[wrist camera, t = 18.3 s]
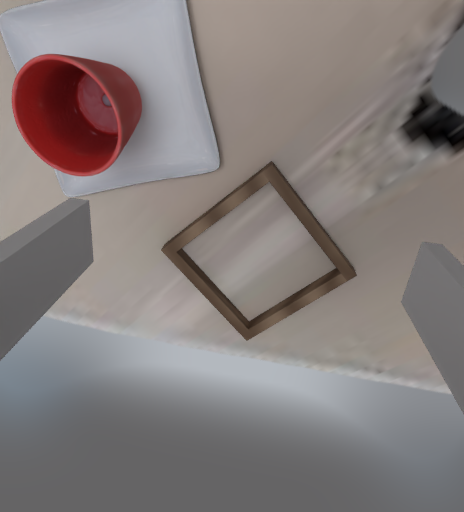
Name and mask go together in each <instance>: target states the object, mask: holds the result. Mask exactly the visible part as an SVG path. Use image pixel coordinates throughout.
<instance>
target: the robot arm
mask: <svg viewBox="0 0 464 512" xmlns="http://www.w3.org/2000/svg"><path fill="white" fill-rule="evenodd" d="M92 263H93V248H92V234H91V221H90V207H89V200H83V199H75V198H69V199H68V200H66V201H65V202H63V203H61V204H60V205H58V206H57V207H55V208H54V209H52V210H50V211H49V212H47V213H46V214H44V215H42V216H41V217H39V218H38V219H36V220H34V221H33V222H31V223H30V224H28V225H26V226H25V227H23V228H22V229H20V230H19V231H17V232H15V233H14V234H12V235H11V236H9V237H7V238H6V239H4V240H3V241H1V242H0V361H1V359H2V358H3V357H4V356H5V355H6V354H7V353H8V352H9V351H10V350H11V349H12V348H13V347H14V346H15V344H17V342H18V341H19V340H20V339H21V338H22V337H23V336H24V335H25V334H26V333H27V332H28V331H29V329H31V327H32V326H33V325H34V324H35V323H36V322H37V321H38V320H39V319H40V318H41V317H42V316H43V315H44V314H45V313H46V312H47V310H48V309H49V308H50V307H51V306H52V305H53V304H54V303H55V302H56V301H57V300H58V299H59V298H60V297H61V296H62V294H63V293H64V292H65V291H66V290H67V289H68V288H69V287H70V286H71V285H72V284H73V283H74V282H75V281H76V280H77V279H78V277H79V276H80V275H81V274H82V273H83V272H84V271H85V270H86V269H87V268H88V267H89V266H90V265H91V264H92ZM401 303H402V304H403V306H404V308H405V310H406V312H407V313H408V315H409V317H410V319H411V321H412V322H413V324H414V326H415V328H416V330H417V331H418V333H419V335H420V337H421V339H422V340H423V342H424V344H425V346H426V348H427V349H428V351H429V353H430V355H431V356H432V358H433V360H434V362H435V364H436V365H437V367H438V369H439V371H440V373H441V374H442V376H443V378H444V380H445V382H446V383H447V385H448V387H449V389H450V391H451V392H452V394H453V396H454V398H455V400H456V401H457V403H458V405H459V407H460V408H461V410H462V412H463V414H464V266H463V265H462V264H461V263H460V262H459V261H458V260H457V259H456V258H455V257H454V256H453V255H452V254H451V253H450V252H449V251H448V250H447V249H446V248H445V247H444V246H443V245H442V244H435V243H427V242H422V244H421V247H420V249H419V252H418V255H417V258H416V261H415V264H414V267H413V269H412V272H411V275H410V278H409V281H408V284H407V287H406V290H405V292H404V295H403V298H402V301H401Z"/></svg>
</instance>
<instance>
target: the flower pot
mask: <svg viewBox="0 0 464 512" xmlns="http://www.w3.org/2000/svg"><path fill="white" fill-rule="evenodd" d="M12 108H13V113H14V117H15V121H16V124H17V126H18V129H19V131H20V133H21V135H22V136H23V138H24V139H25V141H26V142H27V144H28V145H29V146H30V148H31V149H32V150H33V151H34V152H35V153H36V154H37V155H38V156H39V157H40V158H41V159H42V160H43V161H44V162H46V163H47V164H48V165H50V166H51V167H53V168H55V169H57V170H59V171H61V172H63V173H66V174H69V175H74V176H82V177H83V176H93V175H96V174H99V173H101V172H103V171H105V170H107V169H108V168H109V167H110V166H111V165H112V164H113V163H114V162H115V161H116V159H117V158H118V157H119V155H120V154H121V152H122V150H123V149H124V147H125V145H126V144H127V142H128V141H129V139H130V137H131V136H132V134H133V132H134V130H135V128H136V126H137V124H138V122H139V120H140V118H141V113H142V100H141V96H140V93H139V90H138V88H137V86H136V84H135V83H134V81H133V80H132V79H131V77H130V76H129V75H128V74H127V73H126V72H124V71H123V70H122V69H120V68H118V67H117V66H114V65H112V64H108V63H104V62H99V61H95V60H91V59H86V58H81V57H75V56H68V55H61V54H44V55H40V56H37V57H35V58H33V59H31V60H29V61H28V62H27V63H26V64H25V65H24V66H23V67H22V68H21V69H20V70H19V72H18V74H17V76H16V78H15V81H14V84H13V89H12Z"/></svg>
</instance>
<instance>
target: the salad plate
mask: <svg viewBox="0 0 464 512" xmlns="http://www.w3.org/2000/svg"><path fill="white" fill-rule="evenodd" d="M0 32H1V35H2V37H3V40H4V43H5V45H6V48H7V51H8V53H9V56H10V58H11V60H12V63H13V65H14V68H15V70H16V73H17V74H18V72H19V70H20V69H21V68H22V67H23V66H24V65H25V64H26V63H27V62H28V61H29V60H31V59H33V58H35V57H37V56H40V55H44V54H61V55H68V56H75V57H81V58H86V59H91V60H95V61H99V62H104V63H108V64H112V65H114V66H117V67H118V68H120V69H122V70H123V71H124V72H126V73H127V74H128V75H129V76H130V77H131V79H132V80H133V81H134V83H135V84H136V86H137V88H138V90H139V93H140V96H141V100H142V113H141V118H140V120H139V122H138V124H137V126H136V128H135V130H134V132H133V134H132V136H131V137H130V139H129V141H128V142H127V144H126V145H125V147H124V149H123V150H122V152H121V154H120V155H119V157H118V158H117V159H116V161H115V162H114V163H113V164H112V165H111V166H110V167H109V168H108V169H107V170H105V171H103V172H101V173H99V174H96V175H93V176H83V177H82V176H74V175H69V174H66V173H63V172H61V171H59V170H57V169H55V168H54V171H55V173H56V176H57V179H58V181H59V184H60V186H61V189H62V191H63V193H64V194H65V195H66V196H68V197H77V196H83V195H88V194H93V193H97V192H102V191H106V190H111V189H116V188H120V187H125V186H130V185H135V184H140V183H146V182H151V181H157V180H163V179H171V178H179V177H186V176H193V175H199V174H204V173H209V172H212V171H215V170H217V169H218V168H219V165H220V157H219V152H218V146H217V142H216V138H215V134H214V130H213V126H212V122H211V119H210V115H209V111H208V107H207V103H206V98H205V94H204V90H203V86H202V81H201V77H200V72H199V67H198V62H197V58H196V53H195V48H194V43H193V37H192V31H191V25H190V20H189V14H188V9H187V3H186V0H43V1H39V2H35V3H31V4H27V5H22V6H18V7H15V8H12V9H9V10H6V11H4V12H3V13H1V14H0Z"/></svg>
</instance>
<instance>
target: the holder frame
mask: <svg viewBox="0 0 464 512" xmlns="http://www.w3.org/2000/svg"><path fill="white" fill-rule="evenodd" d="M268 182H270V183H271V184H272V186H273V187H274V188H275V189H276V191H277V192H278V193H279V195H280V196H281V197H282V198H283V200H284V201H285V202H286V203H287V205H288V206H289V207H290V209H291V210H292V211H293V212H294V214H295V215H296V216H297V218H298V219H299V220H300V221H301V223H302V224H303V225H304V227H305V228H306V229H307V230H308V232H309V233H310V234H311V236H312V237H313V238H314V239H315V241H316V242H317V243H318V245H319V246H320V247H321V248H322V250H323V251H324V252H325V254H326V255H327V256H328V257H329V259H330V260H331V261H332V263H333V264H334V265H335V266H336V269H334V270H332V271H331V272H329V273H328V274H326V275H324V276H323V277H321V278H319V279H318V280H316V281H315V282H313V283H311V284H310V285H308V286H306V287H305V288H303V289H301V290H300V291H298V292H297V293H295V294H293V295H292V296H290V297H288V298H287V299H285V300H284V301H282V302H280V303H279V304H277V305H275V306H274V307H272V308H271V309H269V310H267V311H266V312H264V313H262V314H261V315H259V316H257V317H256V318H254V319H253V320H251V321H248V320H247V319H246V318H245V317H244V316H243V315H242V313H241V312H240V311H239V310H238V309H237V308H236V307H235V306H234V305H233V304H232V303H231V302H230V300H229V299H228V298H227V297H226V296H225V295H224V294H223V293H222V292H221V291H220V290H219V289H218V287H217V286H216V285H215V284H214V283H213V282H212V281H211V280H210V279H209V278H208V277H207V276H206V274H205V273H204V272H203V271H202V270H201V269H200V268H199V267H198V266H197V265H196V264H195V263H194V261H193V260H192V259H191V258H190V257H189V256H188V255H187V254H186V253H185V252H184V251H183V250H182V247H184V246H185V245H186V244H188V243H189V242H190V241H192V240H193V239H194V238H196V237H197V236H198V235H200V234H201V233H202V232H203V231H205V230H206V229H207V228H209V227H210V226H211V225H213V224H214V223H215V222H217V221H218V220H219V219H221V218H222V217H223V216H225V215H226V214H227V213H229V212H230V211H231V210H233V209H234V208H235V207H237V206H238V205H239V204H240V203H242V202H243V201H244V200H246V199H247V198H248V197H250V196H251V195H252V194H254V193H255V192H256V191H258V190H259V189H260V188H262V187H263V186H264V185H266V184H267V183H268ZM161 251H162V252H163V253H164V254H165V255H166V256H167V257H168V258H169V259H170V260H171V261H172V262H173V263H174V264H175V265H176V266H177V268H178V269H179V270H180V271H181V272H182V273H183V274H184V275H185V276H186V277H187V278H188V279H189V280H190V281H191V282H192V283H193V284H194V286H195V287H196V288H197V289H198V290H199V291H200V292H201V293H202V294H203V295H204V296H205V297H206V298H207V299H208V300H209V301H210V302H211V304H212V305H213V306H214V307H215V308H216V309H217V310H218V311H219V312H220V313H221V314H222V315H223V316H224V317H225V318H226V319H227V320H228V321H229V323H230V324H231V325H232V326H233V327H234V328H235V329H236V330H237V331H238V332H239V333H240V334H241V335H242V336H243V337H244V338H245V339H246V341H247V340H249V339H251V338H252V337H254V336H256V335H257V334H259V333H261V332H262V331H264V330H266V329H267V328H269V327H271V326H272V325H274V324H276V323H278V322H279V321H281V320H283V319H284V318H286V317H288V316H289V315H291V314H293V313H294V312H296V311H298V310H299V309H301V308H303V307H305V306H306V305H308V304H310V303H311V302H313V301H315V300H316V299H318V298H320V297H321V296H323V295H325V294H326V293H328V292H330V291H332V290H333V289H335V288H337V287H338V286H340V285H342V284H343V283H345V282H347V281H348V280H350V279H352V278H353V277H355V276H357V275H356V272H355V270H354V268H353V267H352V265H351V264H350V263H349V261H348V260H347V259H346V258H345V256H344V255H343V254H342V252H341V251H340V250H339V248H338V247H337V246H336V244H335V243H334V242H333V240H332V239H331V238H330V237H329V235H328V234H327V233H326V231H325V230H324V229H323V227H322V226H321V225H320V223H319V222H318V221H317V219H316V218H315V217H314V216H313V214H312V213H311V212H310V210H309V209H308V208H307V206H306V205H305V204H304V202H303V201H302V200H301V198H300V197H299V196H298V195H297V193H296V192H295V191H294V189H293V188H292V187H291V185H290V184H289V183H288V181H287V180H286V179H285V177H284V176H283V175H282V174H281V172H280V171H279V170H278V168H277V167H276V166H275V164H274V163H273V162H272V161H271V162H270V163H269V164H267V165H266V166H265V167H263V168H262V169H261V170H260V171H258V172H257V173H256V174H254V175H253V176H252V177H251V178H249V179H248V180H247V181H245V182H244V183H243V184H242V185H240V186H239V187H238V188H236V189H235V190H234V191H233V192H231V193H230V194H229V195H227V196H226V197H225V198H224V199H222V200H221V201H220V202H218V203H217V204H216V205H215V206H213V207H212V208H211V209H209V210H208V211H207V212H206V213H204V214H203V215H202V216H200V217H199V218H198V219H197V220H195V221H194V222H193V223H191V224H190V225H189V226H188V227H186V228H185V229H184V230H182V231H181V232H180V233H179V234H177V235H176V236H175V237H173V238H172V239H171V240H170V241H168V242H167V243H166V244H165V245H164V246H163V248H162V249H161Z"/></svg>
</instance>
